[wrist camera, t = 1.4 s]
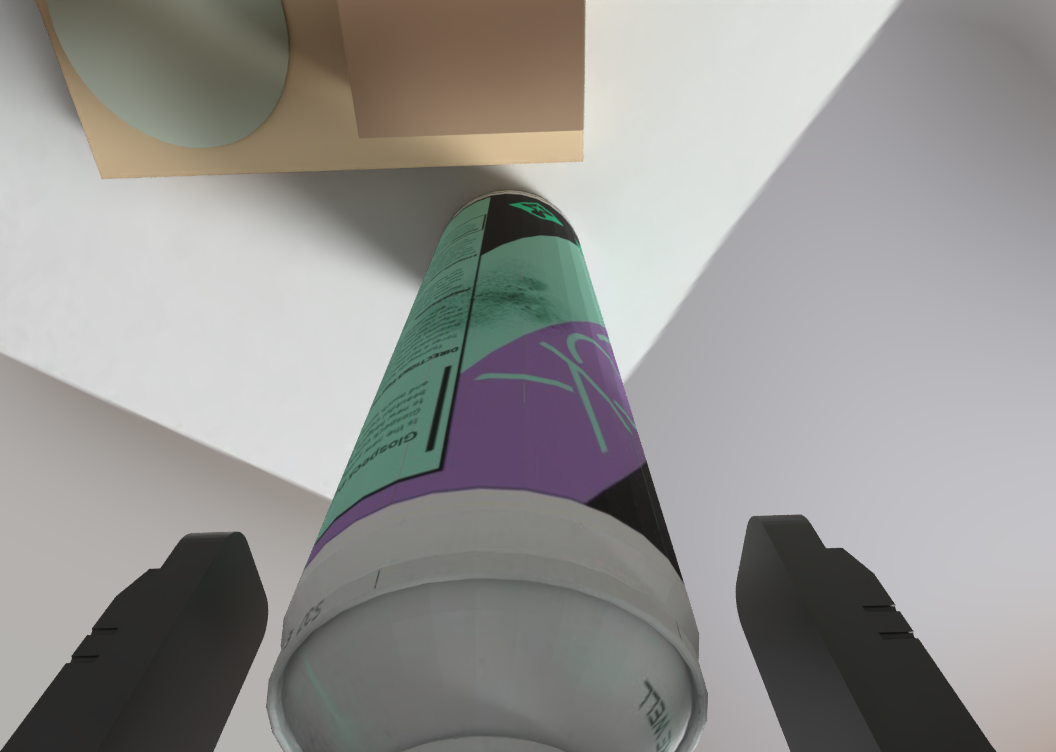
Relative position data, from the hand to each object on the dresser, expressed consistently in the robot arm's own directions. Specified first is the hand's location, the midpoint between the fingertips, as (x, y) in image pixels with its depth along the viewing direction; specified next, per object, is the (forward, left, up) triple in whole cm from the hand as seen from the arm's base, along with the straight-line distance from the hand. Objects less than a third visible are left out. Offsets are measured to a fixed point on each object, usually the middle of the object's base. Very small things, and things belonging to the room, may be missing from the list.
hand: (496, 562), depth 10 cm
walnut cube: (-8, -1, -12) cm, 15 cm away
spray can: (0, 0, -15) cm, 15 cm away
